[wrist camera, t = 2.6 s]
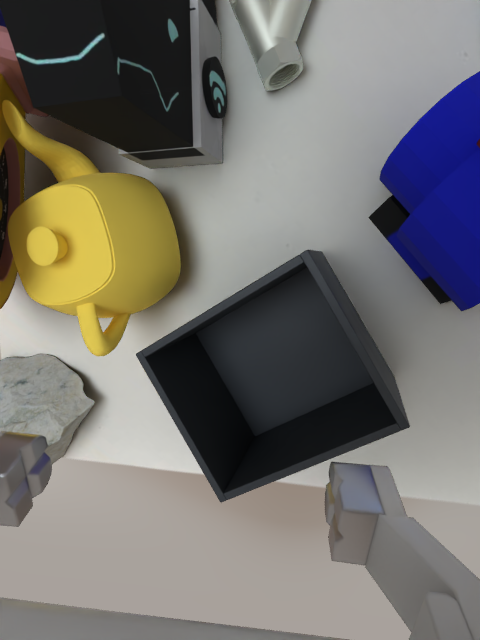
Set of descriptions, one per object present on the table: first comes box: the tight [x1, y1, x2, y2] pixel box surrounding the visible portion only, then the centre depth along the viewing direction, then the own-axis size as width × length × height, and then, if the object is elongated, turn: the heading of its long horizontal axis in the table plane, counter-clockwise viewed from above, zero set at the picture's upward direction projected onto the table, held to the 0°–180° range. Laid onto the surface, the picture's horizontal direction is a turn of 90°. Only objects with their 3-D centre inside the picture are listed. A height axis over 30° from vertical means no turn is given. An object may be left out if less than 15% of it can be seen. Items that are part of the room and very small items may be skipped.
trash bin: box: [136, 250, 410, 502], centre depth 32 cm, size 15×13×11 cm
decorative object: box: [0, 0, 227, 169], centre depth 27 cm, size 8×18×15 cm
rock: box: [0, 354, 95, 464], centre depth 44 cm, size 15×16×8 cm
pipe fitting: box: [229, 0, 311, 91], centre depth 31 cm, size 8×4×7 cm
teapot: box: [2, 100, 181, 356], centre depth 34 cm, size 13×20×12 cm
